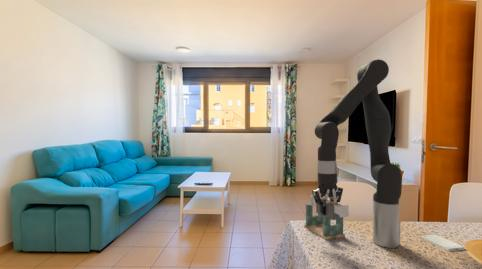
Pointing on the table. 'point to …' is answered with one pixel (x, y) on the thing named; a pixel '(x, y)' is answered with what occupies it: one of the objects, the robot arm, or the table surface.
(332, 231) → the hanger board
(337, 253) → the table surface
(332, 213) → the power strip
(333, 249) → the table surface
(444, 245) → the hard drive
